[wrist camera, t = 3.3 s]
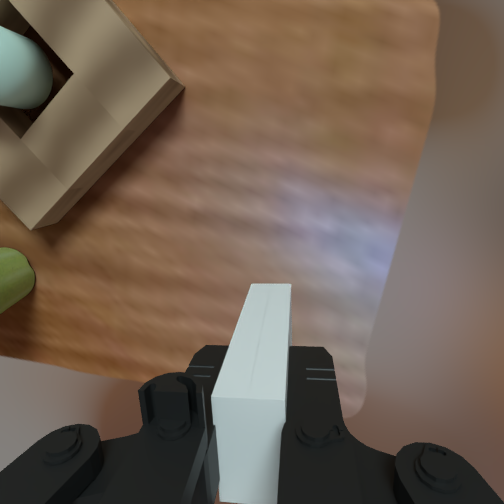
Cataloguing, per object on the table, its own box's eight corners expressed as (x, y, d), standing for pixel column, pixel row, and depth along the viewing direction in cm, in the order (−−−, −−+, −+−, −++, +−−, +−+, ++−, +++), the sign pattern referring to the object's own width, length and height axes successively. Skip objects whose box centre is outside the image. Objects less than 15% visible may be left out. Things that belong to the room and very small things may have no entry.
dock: (-85, 74, 36) (-131, 64, 32) (28, -99, 30) (-11, -135, 27) (57, 222, 38) (30, 230, 34) (185, 86, 33) (170, 77, 29)
